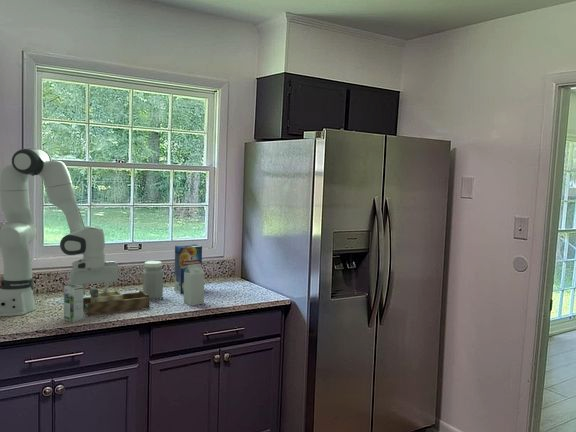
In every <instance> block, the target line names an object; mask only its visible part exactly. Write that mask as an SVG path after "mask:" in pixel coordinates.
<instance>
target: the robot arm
mask: <svg viewBox="0 0 576 432" xmlns="http://www.w3.org/2000/svg"><path fill="white" fill-rule="evenodd" d="M31 176H32V177H34V176H40V178H41V179H42V181H43V185H44V189H45V193H46V196H47V199H48V200H49V202H50V203H51V205H53V206H54V207H56V208H58V209H59V210H61V211H62V212H63V214H64V216H65V219H66V222H67V226H68V229H69V233H68V234H66V235H64V236H63V237H62V238H61V240H60V243H59V248H60V250H61V252H62V253H64V255H68V256H76V255H83V257H82V258H80V259H78V260H75V261H72V263H71V266H72V268H71V269H70V272H69V278H68V279H69V285H70V284H77V285H80V286H84V285H95V284H105V286H104V287H102V292H108V289H109V286H110V285H111V283H115V282H116V283H117V281H118V280H119V278H118V277H119V275H118V269H119V264H118V262H116V261H114V260H113V261H105V257H106V255H105V251H104V250H105V247H106V244H105V243H106V242H105V239H106V238H105V233H104V230H103V228H101V227H99V226H95V225H85V224H84V222H83V217H82V214H81V212H80V208H79V206H78V205H79V204H78V202H77V198H76V193H75V189H74V185H73V182H72V178H71V174H70V172H69V170H68V167H67V166H66V164H65V163H64V162H63V161H61V160H56V159H55V160H52V156H51V155H50V154H49V152H47V151H45V150H43V149H40V148H34V147H33V148H22V149H21V148H20V149H19V150H17V151H16V152H15V153H14V154H13V155H12V158H11V164H7V165H5V166H3V167H2V168H1V172H0V208H1V211H2V212H3V214H4V217H5V221H6V224H5V225H3V226H2V227H1V228H0V253H1V257H2V262H3V278H2V279H1V278H0V317H8V316H9V317H10V316H12V317H13V316H22V315H26V314H27V313H30V312H33V311H35V310H37V305H36V301H35V297H34V291H33V290H34V277H33V261H32V258H31V256H30V252H29V247H28V246H29V244H30V243H32V242H33V241H34V240H35V238H36V237H37V233H38V232H37V230H38V229H37V227H36V226H35V223H34V218H33V215H32V214H33V213H32V210H31V204H30V203H31V202H30V190H29V189H30V187H29V180H30V177H31ZM85 294H86V290H85V289H83V296H84V295H85Z"/></svg>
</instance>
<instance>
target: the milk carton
mask: <svg viewBox="0 0 576 432" xmlns="http://www.w3.org/2000/svg"><path fill="white" fill-rule="evenodd" d="M183 303H184V304H186V305H189V306H197V305H202V304H204V303H205V271H204V269H203V266H202V267H201V264H193V265H188V268H187V269H186V270H185V272H184V294H183Z"/></svg>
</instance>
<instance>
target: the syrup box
mask: <svg viewBox="0 0 576 432" xmlns="http://www.w3.org/2000/svg"><path fill="white" fill-rule="evenodd" d="M83 290H84V285H82V286H80V285H77V284H70V283H69V284H66V285H64V286H63V320H65V321H68V322H71V323H74V322H77V321H81V320H83V319H84V311H83V298H84V295H83Z"/></svg>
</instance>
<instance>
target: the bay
mask: <svg viewBox="0 0 576 432" xmlns="http://www.w3.org/2000/svg"><path fill="white" fill-rule="evenodd" d="M122 294H123V300H116V301H107V302H97V303H91V296H89V297H83V313H85V314H86V315H87V316H89V317H90V316H96V315H97V316H98V315H103V314H111V313H119V312H128V311H138V310H144V309H145V308H146V309H149V308H150V300H149V295H148V294H147V293H145V292H144V291H143V289H142V290H139V291H136V292H135V291H134V292H126V293H122Z"/></svg>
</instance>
